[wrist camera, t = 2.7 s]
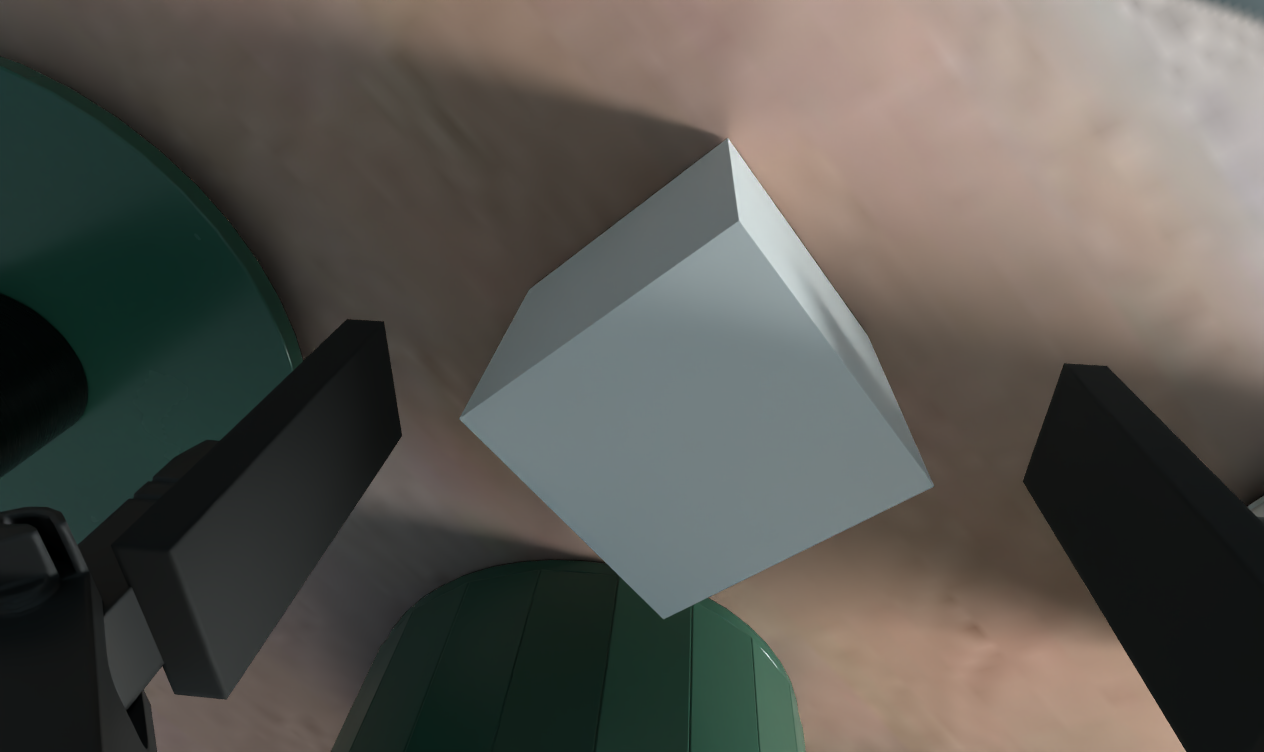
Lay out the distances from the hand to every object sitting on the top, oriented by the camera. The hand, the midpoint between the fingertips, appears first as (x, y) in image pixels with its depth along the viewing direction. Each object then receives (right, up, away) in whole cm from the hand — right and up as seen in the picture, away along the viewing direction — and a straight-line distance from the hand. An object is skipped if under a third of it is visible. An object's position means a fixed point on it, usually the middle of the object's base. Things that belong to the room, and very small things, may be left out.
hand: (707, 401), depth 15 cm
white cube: (0, +2, +4) cm, 4 cm away
